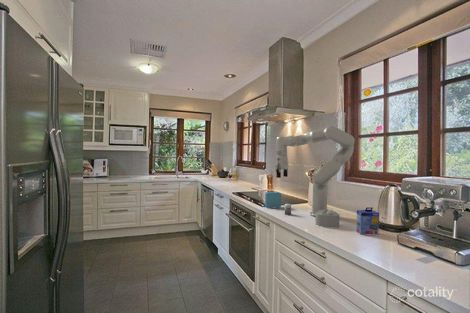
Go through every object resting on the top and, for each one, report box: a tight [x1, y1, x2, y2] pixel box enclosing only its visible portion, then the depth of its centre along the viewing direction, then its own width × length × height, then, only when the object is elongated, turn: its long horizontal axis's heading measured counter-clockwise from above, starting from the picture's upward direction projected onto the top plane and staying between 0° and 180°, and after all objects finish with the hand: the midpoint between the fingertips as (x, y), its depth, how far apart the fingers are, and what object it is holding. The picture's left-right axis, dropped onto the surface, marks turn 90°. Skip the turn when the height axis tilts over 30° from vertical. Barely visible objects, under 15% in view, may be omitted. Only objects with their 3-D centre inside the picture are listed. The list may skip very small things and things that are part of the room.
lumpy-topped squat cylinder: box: [315, 209, 341, 228], centre depth 144 cm, size 10×13×9 cm
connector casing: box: [284, 203, 292, 216], centre depth 167 cm, size 4×4×7 cm
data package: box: [264, 191, 282, 209], centre depth 189 cm, size 12×4×12 cm, turn 94°
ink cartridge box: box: [355, 206, 380, 235], centre depth 129 cm, size 10×6×14 cm, turn 91°
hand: (282, 177), depth 174 cm, fingers open, 9 cm apart
